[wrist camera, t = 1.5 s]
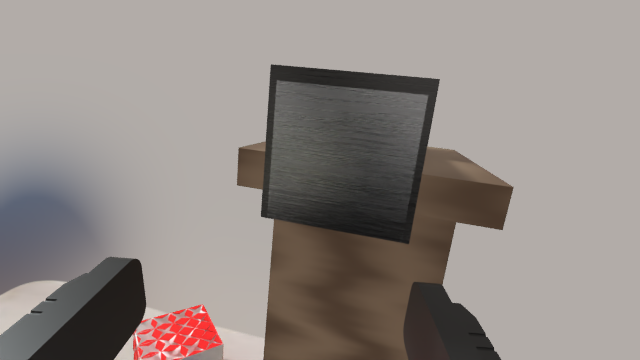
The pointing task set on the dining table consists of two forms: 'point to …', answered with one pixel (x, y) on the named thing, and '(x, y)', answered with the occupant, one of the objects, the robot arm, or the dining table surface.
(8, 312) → the dining table surface
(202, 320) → the puzzle cube
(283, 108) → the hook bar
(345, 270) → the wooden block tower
